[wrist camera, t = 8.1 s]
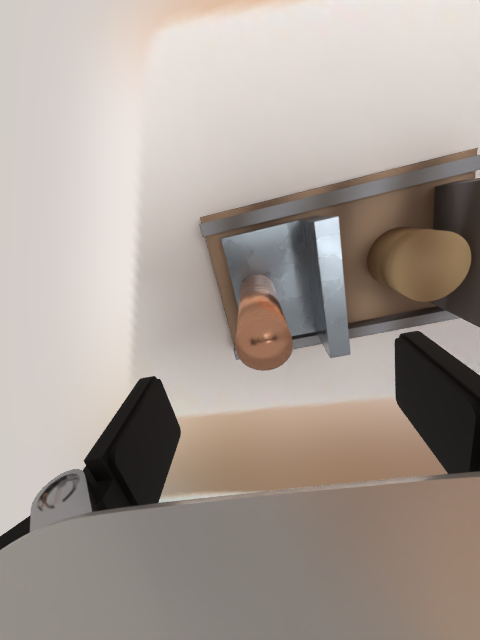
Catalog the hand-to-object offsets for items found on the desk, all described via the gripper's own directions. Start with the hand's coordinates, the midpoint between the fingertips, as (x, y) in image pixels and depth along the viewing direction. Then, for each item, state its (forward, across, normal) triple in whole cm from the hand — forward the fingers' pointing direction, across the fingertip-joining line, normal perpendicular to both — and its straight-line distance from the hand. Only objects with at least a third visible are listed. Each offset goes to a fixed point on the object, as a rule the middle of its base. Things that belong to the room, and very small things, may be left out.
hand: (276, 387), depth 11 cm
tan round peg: (+16, -12, 0) cm, 20 cm away
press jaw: (+15, -1, 0) cm, 15 cm away
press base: (+17, -8, 0) cm, 19 cm away
